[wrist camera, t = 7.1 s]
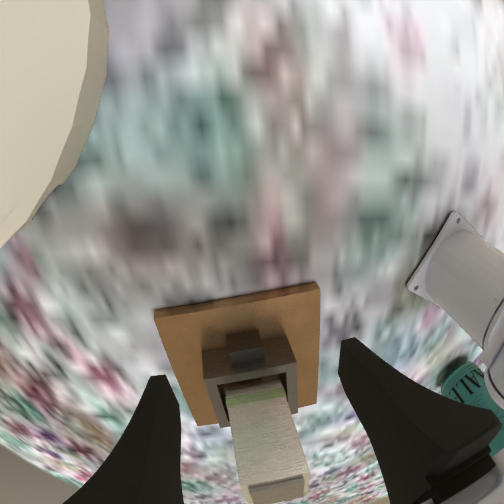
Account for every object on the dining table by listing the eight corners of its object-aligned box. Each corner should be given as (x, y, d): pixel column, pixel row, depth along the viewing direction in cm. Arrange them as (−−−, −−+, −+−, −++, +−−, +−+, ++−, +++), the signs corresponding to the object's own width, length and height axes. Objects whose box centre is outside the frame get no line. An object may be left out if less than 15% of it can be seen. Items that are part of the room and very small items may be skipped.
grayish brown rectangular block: (224, 389, 21) (240, 491, 13) (280, 378, 21) (312, 476, 14) (233, 419, 23) (248, 509, 15) (283, 409, 23) (309, 496, 16)
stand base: (155, 310, 22) (149, 346, 18) (315, 281, 23) (335, 312, 20) (197, 418, 28) (199, 450, 25) (313, 396, 29) (325, 426, 26)
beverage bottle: (452, 385, 36) (518, 481, 18) (425, 390, 34) (495, 501, 16) (476, 351, 33) (554, 448, 15) (451, 353, 32) (536, 467, 14)
